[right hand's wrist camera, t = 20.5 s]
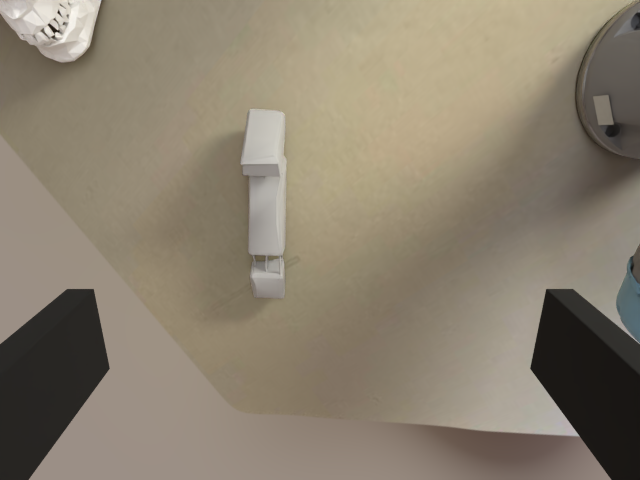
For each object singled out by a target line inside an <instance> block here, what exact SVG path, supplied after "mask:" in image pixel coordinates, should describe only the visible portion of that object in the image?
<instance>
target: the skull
mask: <svg viewBox="0 0 640 480" xmlns="http://www.w3.org/2000/svg"><path fill="white" fill-rule="evenodd" d="M68 3H69V5H68ZM100 4H101V0H0V14H1V15H2V17H3V18H4V19H5V21H6V22H7V23H8V24H9V25H10V27H11V28H12V29H13V30H15V31H16V33H17V34H18V36H19V37H20V39H22V40H26V41H27V42H28V43H29V44H30V45H35V46H37V48H38V49H39V51H40V52H41V53H42V54H43V55H44V56H45V57H48V58H51V59H53V60H56V61H59V62H62V63H63V62H71V61H75V60H76V59H78V58H79V57H80V56H82V55H83V54H84V53H85V52H86V50H87V49H88V48H89V46H90V43H91V39H92V35H93V30H94V26H95V22H96V18H97V15H98V11H99V7H100ZM60 5H61V6H62V7H61V6H60ZM58 9H59V11H60V14H61V16H62V17H61V16H60V15H59V14H58V13H57V12H58ZM54 18H55V19H56V20H57V21H58V22H59V23H57V22H56V21H55V20H53V19H54ZM64 22H65V24H64V25H62V24H63V23H64ZM49 23H50V24H51V25H52V26H53V27H54V28H56V29H57V30H58V29H59V30H60V32H59V33H58V32H56V33H55V34H54V33H53V32H52V30H51V29H50V27H49V26H48V24H49ZM43 28H44V31H45V32H44V31H43ZM47 35H48V36H47ZM54 35H55V37H54V38H51V37H52V36H54Z"/></svg>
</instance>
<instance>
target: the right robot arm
mask: <svg viewBox="0 0 640 480" xmlns="http://www.w3.org/2000/svg"><path fill="white" fill-rule="evenodd" d="M576 100H577V109H578V113H579V117H580V119H581V122H582V124H583V126H584V128H585V130H586V132H587V133H588V135H589V136H590V137H591V138H592V139H593V140H594V141H595V142H596V143H597V144H598V145H600V146H601V147H602V148H604V149H606V150H608V151H609V152H612V153H614V154H617V155H621V156H625V157H629V158H635V159H640V0H636V1H635V2H633V3H631V4H629V5H628V6H627V7H625V8H624V9H622V10H621V11H620V12H619V13H617V14H616V15H615V16H614V17H613V18H612V19H611V20H610V21H609V22H608V23H607V24H606V25H605V26H604V27H603V28H602V29H601V31H600V32H599V33H598V35H597V36H596V37H595V39H594V41H593V42H592V44H591V45H590V47H589V49H588V51H587V53H586V55H585V57H584V60H583V62H582V65H581V68H580V72H579V76H578V81H577V90H576ZM616 306H617V310H618V313H619V315H620V317H621V321H622V323H623V324H624V326H625V327H626V329H627V330H628V331H629V332H630V333H631V335H632V336H633V337H634V338H635V339H636V340H637V341H638V342H639V343H640V244H639V246H638V248H637V250H636V252H635V254H634V255H633V256H632V257H630V259H629V261H628V264H627V274H626V276H625V278H624V281H623V283H622V286H621V288H620V290H619V293H618V295H617V301H616ZM638 342H636V341H635V340H634V339H633V338H631V337H630V336H629V335H628V334H627V333H625V332H624V331H623V330H622V329H621V328H619V327H618V326H617V325H616V324H614V323H613V322H612V321H611V320H610V319H608V318H607V317H606V316H605V315H604V314H602V313H601V312H600V311H599V310H597V309H596V308H595V307H594V306H593V305H591V304H590V303H589V302H588V301H587V300H585V299H584V298H583V297H582V296H581V295H579V294H578V293H577V292H576V291H574V290H573V289H546V294H545V299H544V303H543V308H542V313H541V318H540V323H539V328H538V333H537V338H536V343H535V348H534V353H533V358H532V363H531V368H530V369H531V370H532V372H533V373H534V374H535V376H536V377H537V378H538V380H539V381H540V382H541V384H542V385H543V387H544V388H545V389H546V391H547V392H548V393H549V395H550V396H551V398H552V399H553V400H554V402H555V403H556V404H557V406H558V407H559V408H560V410H561V411H562V413H563V414H564V415H565V417H566V418H567V419H568V421H569V422H570V424H571V425H572V426H573V428H574V429H575V430H576V432H577V433H578V434H579V436H580V437H581V439H582V440H583V441H584V443H585V444H586V445H587V447H588V448H589V449H590V451H591V452H592V454H593V455H594V456H595V458H596V459H597V460H598V462H599V463H600V465H601V466H602V467H603V469H604V470H605V471H606V473H607V474H608V476H609V477H610V478H611V480H640V344H639V343H638ZM108 370H109V363H108V358H107V353H106V348H105V343H104V338H103V333H102V328H101V323H100V319H99V313H98V308H97V304H96V299H95V294H94V289H67V290H66V291H64V292H63V293H62V294H61V295H59V296H58V297H57V298H56V299H55V300H53V301H52V302H51V303H50V304H49V305H47V306H46V307H45V308H44V309H43V310H41V311H40V312H39V313H38V314H37V315H35V316H34V317H33V318H32V319H30V320H29V321H28V322H27V323H26V324H24V325H23V326H22V327H21V328H19V329H18V330H17V331H16V332H15V333H13V334H12V335H11V336H10V337H9V338H7V339H6V340H5V341H4V342H2V343H1V344H0V480H29V478H30V477H31V476H32V474H33V473H34V471H35V470H36V469H37V467H38V466H39V465H40V463H41V462H42V460H43V459H44V458H45V456H46V455H47V454H48V452H49V451H50V450H51V448H52V447H53V445H54V444H55V443H56V441H57V440H58V439H59V437H60V436H61V434H62V433H63V432H64V430H65V429H66V428H67V426H68V425H69V423H70V422H71V421H72V419H73V418H74V417H75V415H76V414H77V413H78V411H79V410H80V408H81V407H82V406H83V404H84V403H85V402H86V400H87V399H88V398H89V396H90V395H91V393H92V392H93V391H94V389H95V388H96V387H97V385H98V384H99V382H100V381H101V380H102V378H103V377H104V376H105V374H106V373H107V371H108Z"/></svg>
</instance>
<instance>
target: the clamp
mask: <svg viewBox="0 0 640 480" xmlns="http://www.w3.org/2000/svg"><path fill="white" fill-rule="evenodd" d="M285 132H286V122H285V115H284V113H283V112H281V111H279V110H267V109H253V108H251V109H250V110H249V111H248V113H247V121H246V128H245V135H244V142H243V149H242V155H241V162H240V164H242V175H249V191H248V210H249V226H248V252H249V254H250V255H252V257H253V260H254V261H253V262H252V266H251V271H250V282H251V287H252V290H253V294H254V297H255V298H284V296H285V283H286V281H285V267H284V260H283V252H284V249H285V242H286V176H287V159H286V158H285V156H284V155H283V153H284V142H285ZM255 255H263V256H266V257H265V261H256V260H255ZM268 256H279V258H278V259H274V260H269V261H268Z"/></svg>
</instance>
